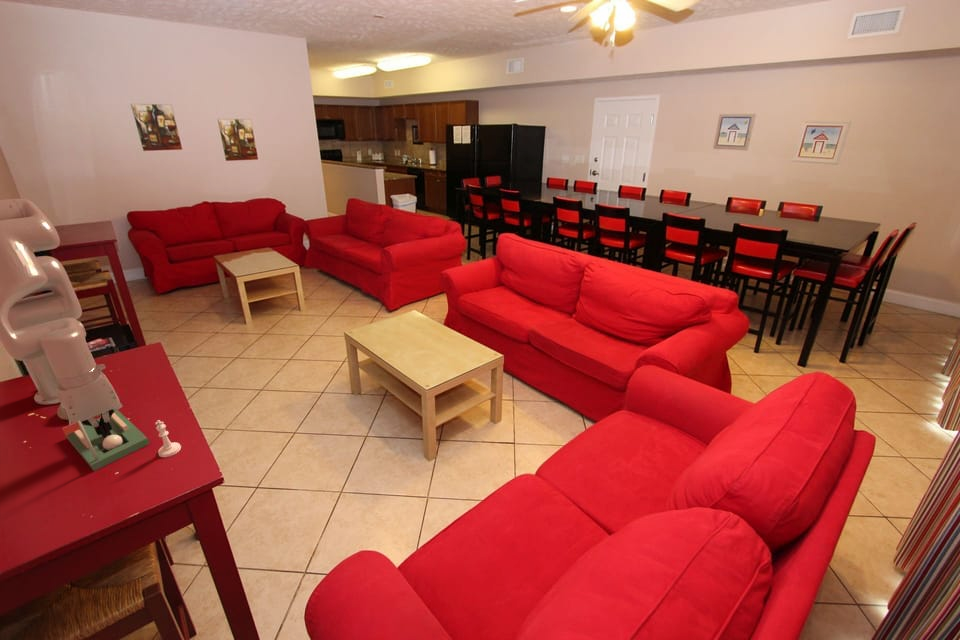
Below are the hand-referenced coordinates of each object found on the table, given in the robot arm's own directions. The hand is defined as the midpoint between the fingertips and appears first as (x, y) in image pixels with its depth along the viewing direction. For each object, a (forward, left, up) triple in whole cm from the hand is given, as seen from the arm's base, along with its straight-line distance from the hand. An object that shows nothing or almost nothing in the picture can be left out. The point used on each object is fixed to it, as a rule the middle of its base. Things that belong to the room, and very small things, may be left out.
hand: (105, 434), depth 112 cm
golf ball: (+4, 0, -1) cm, 4 cm away
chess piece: (+16, +8, -3) cm, 18 cm away
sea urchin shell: (-22, 0, -3) cm, 22 cm away
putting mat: (-1, 0, -3) cm, 3 cm away
